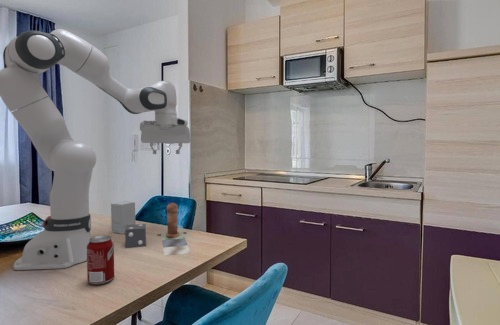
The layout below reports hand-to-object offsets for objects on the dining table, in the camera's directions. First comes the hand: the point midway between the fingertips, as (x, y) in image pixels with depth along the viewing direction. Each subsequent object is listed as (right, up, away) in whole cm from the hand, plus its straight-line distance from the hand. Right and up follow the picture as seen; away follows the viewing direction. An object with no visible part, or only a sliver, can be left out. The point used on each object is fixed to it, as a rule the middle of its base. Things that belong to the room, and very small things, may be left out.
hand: (166, 154), depth 130 cm
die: (-8, -35, -13) cm, 38 cm away
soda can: (-6, -37, -44) cm, 58 cm away
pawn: (+3, -34, -3) cm, 34 cm away
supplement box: (-20, -34, +6) cm, 40 cm away
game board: (+6, -35, -11) cm, 37 cm away
